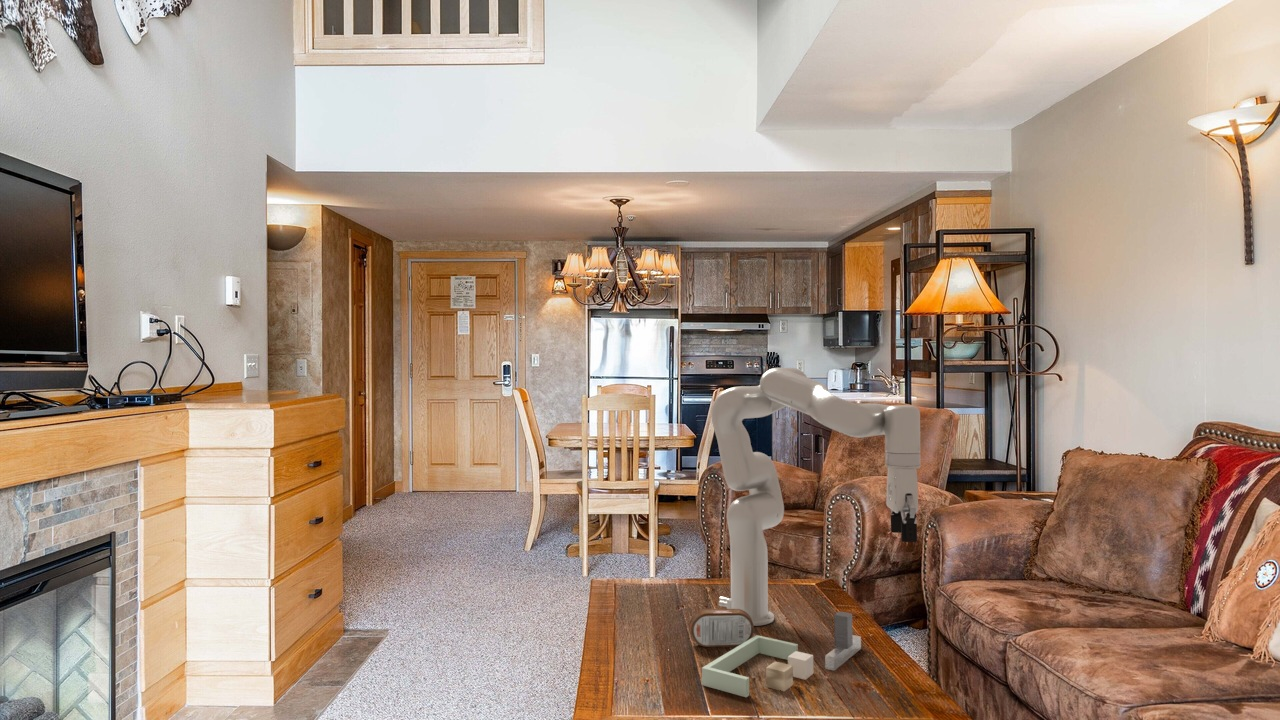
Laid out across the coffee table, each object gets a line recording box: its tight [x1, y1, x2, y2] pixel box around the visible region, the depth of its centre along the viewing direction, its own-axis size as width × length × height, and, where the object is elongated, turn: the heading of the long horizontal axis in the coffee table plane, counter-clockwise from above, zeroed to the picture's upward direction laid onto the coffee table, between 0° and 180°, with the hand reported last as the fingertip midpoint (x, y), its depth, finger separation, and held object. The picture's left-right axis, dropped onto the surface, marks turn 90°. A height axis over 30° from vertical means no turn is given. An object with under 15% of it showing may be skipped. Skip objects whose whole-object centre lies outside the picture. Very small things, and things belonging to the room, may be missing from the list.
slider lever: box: [824, 611, 862, 672], centre depth 172 cm, size 3×16×10 cm, turn 144°
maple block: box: [765, 660, 794, 692], centre depth 157 cm, size 4×4×4 cm
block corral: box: [701, 634, 799, 698], centre depth 164 cm, size 10×24×4 cm, turn 144°
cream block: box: [787, 650, 814, 681], centre depth 163 cm, size 4×4×4 cm
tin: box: [688, 608, 755, 648], centre depth 180 cm, size 15×3×8 cm, turn 94°
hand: (903, 536), depth 173 cm, fingers open, 9 cm apart
